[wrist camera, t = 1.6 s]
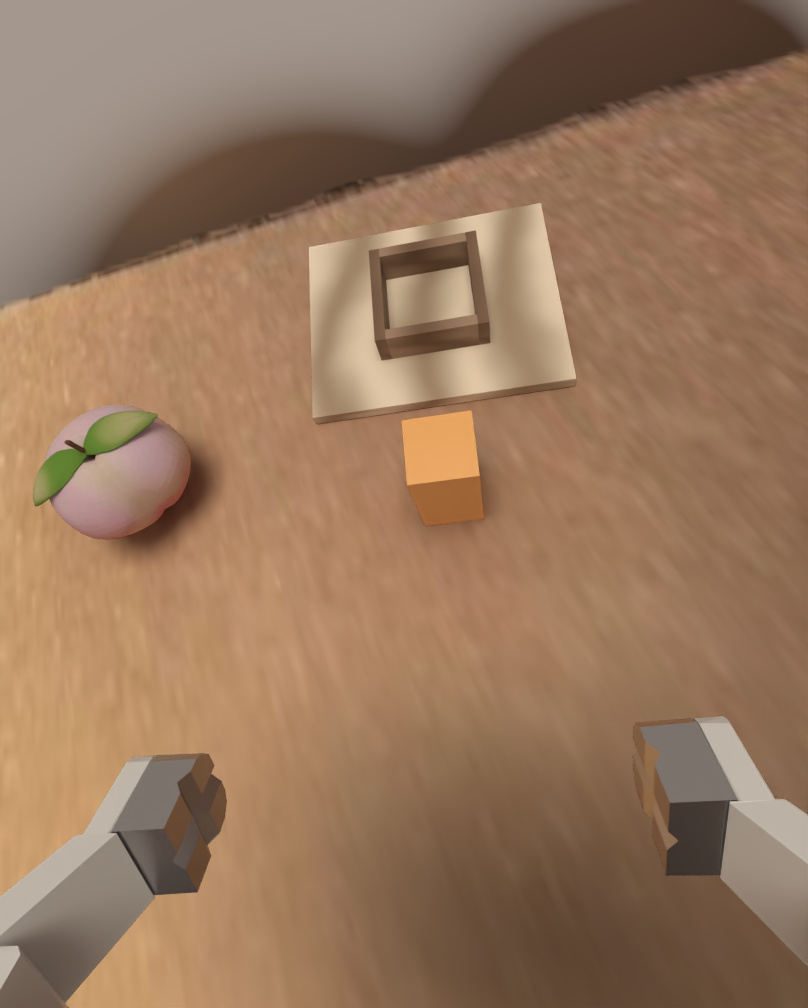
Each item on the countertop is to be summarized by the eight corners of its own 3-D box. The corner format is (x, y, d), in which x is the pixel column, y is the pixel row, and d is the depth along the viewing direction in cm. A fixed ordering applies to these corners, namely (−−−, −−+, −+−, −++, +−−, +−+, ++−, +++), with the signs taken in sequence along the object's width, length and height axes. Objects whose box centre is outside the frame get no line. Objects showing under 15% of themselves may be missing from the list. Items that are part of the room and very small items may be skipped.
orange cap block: (477, 464, 39) (471, 410, 32) (484, 519, 38) (479, 475, 30) (420, 472, 40) (401, 420, 32) (425, 526, 38) (407, 485, 31)
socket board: (539, 213, 45) (542, 175, 42) (574, 385, 40) (581, 358, 37) (312, 256, 48) (298, 223, 44) (316, 424, 42) (301, 401, 39)
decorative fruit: (175, 420, 45) (88, 348, 35) (237, 483, 42) (161, 423, 32) (85, 505, 43) (-29, 452, 34) (143, 575, 41) (36, 539, 31)
